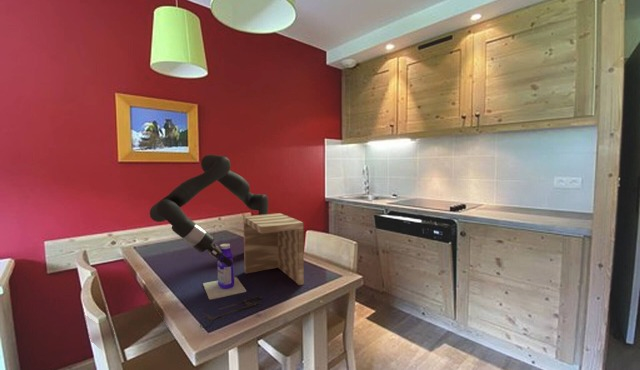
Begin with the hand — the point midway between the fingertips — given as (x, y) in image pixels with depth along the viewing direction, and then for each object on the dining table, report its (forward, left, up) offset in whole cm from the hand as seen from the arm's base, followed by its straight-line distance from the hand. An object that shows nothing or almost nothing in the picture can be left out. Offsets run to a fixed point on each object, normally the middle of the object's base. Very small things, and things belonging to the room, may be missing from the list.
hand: (229, 261), depth 121 cm
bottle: (0, -1, -10) cm, 11 cm away
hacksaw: (+21, -3, -11) cm, 24 cm away
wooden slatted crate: (0, +19, -11) cm, 22 cm away
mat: (0, -2, -11) cm, 11 cm away
